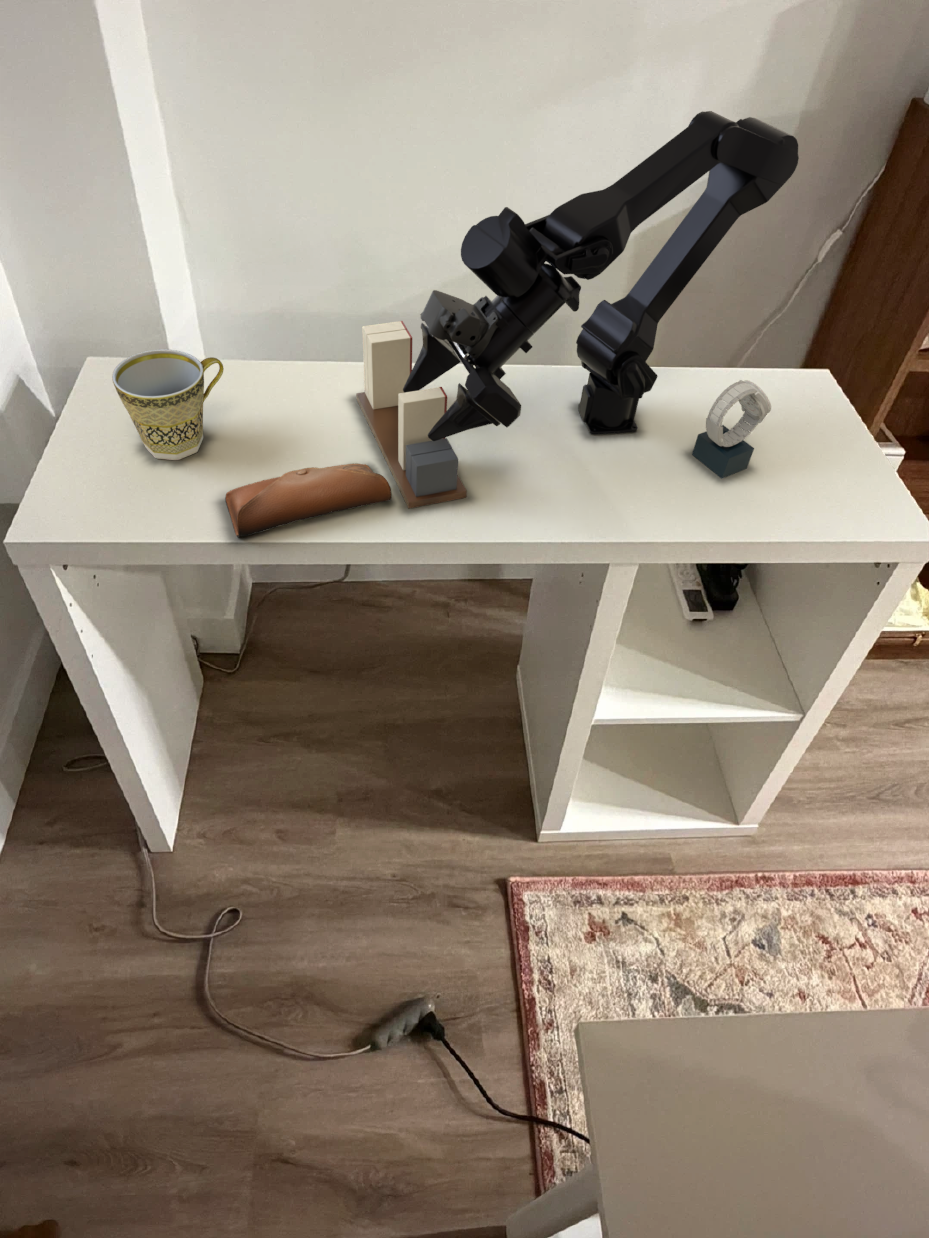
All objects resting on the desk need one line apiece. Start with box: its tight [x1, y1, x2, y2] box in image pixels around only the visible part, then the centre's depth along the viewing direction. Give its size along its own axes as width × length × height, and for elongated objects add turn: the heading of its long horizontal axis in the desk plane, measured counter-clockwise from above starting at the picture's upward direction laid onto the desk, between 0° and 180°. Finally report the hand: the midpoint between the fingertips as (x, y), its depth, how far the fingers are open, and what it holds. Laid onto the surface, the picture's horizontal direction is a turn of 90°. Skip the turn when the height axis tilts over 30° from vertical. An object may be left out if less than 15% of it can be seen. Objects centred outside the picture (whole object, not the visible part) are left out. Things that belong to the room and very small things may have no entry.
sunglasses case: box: [224, 463, 392, 538], centre depth 98 cm, size 18×7×7 cm, turn 114°
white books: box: [361, 320, 413, 409], centre depth 109 cm, size 5×4×10 cm
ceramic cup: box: [111, 348, 224, 461], centre depth 102 cm, size 13×10×10 cm
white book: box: [398, 386, 448, 470], centre depth 101 cm, size 5×2×10 cm, turn 110°
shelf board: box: [355, 391, 468, 509], centre depth 107 cm, size 7×23×1 cm, turn 20°
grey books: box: [406, 437, 459, 497], centre depth 100 cm, size 5×4×4 cm
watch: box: [691, 379, 772, 479], centre depth 105 cm, size 6×8×11 cm
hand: (417, 415), depth 99 cm, fingers open, 9 cm apart
